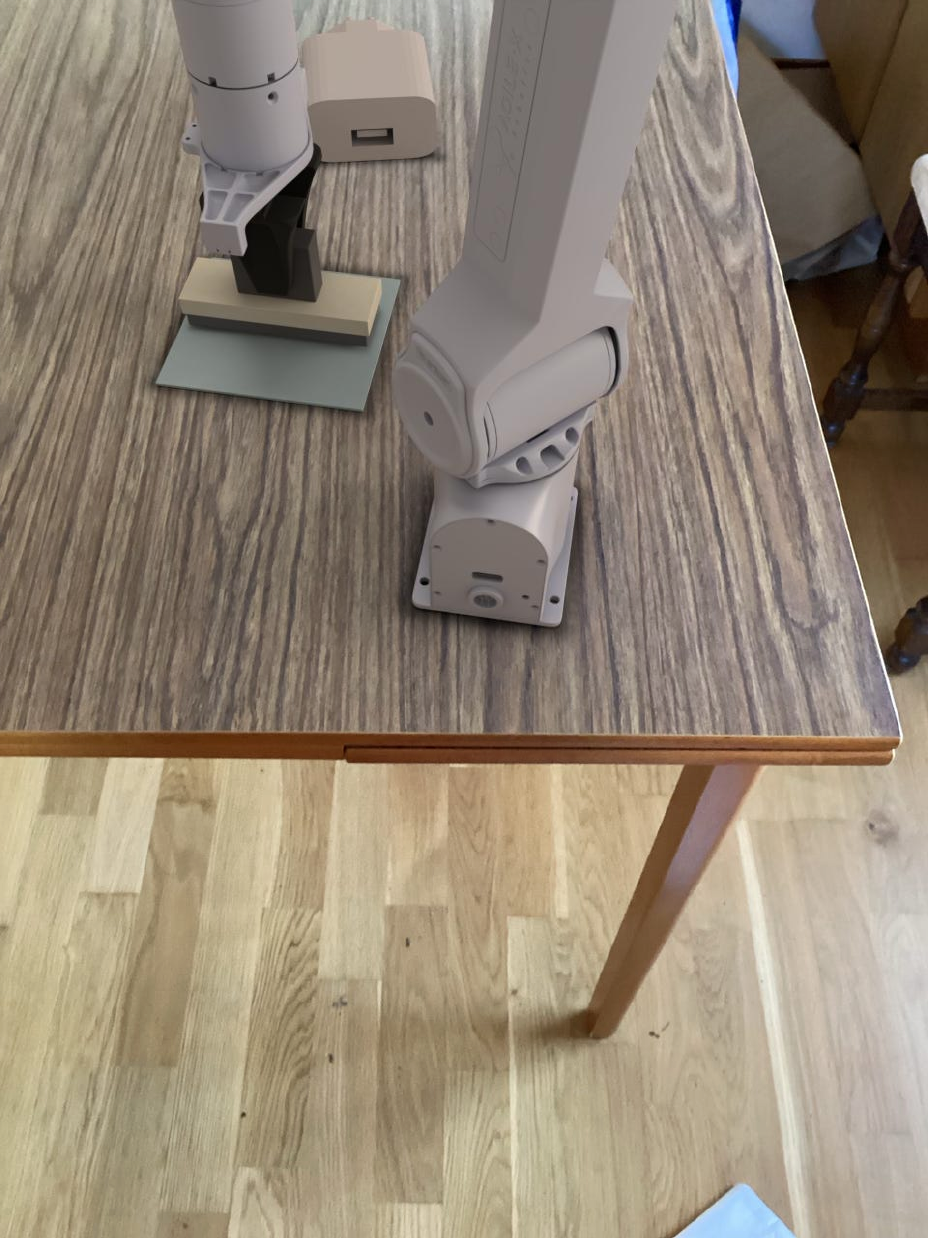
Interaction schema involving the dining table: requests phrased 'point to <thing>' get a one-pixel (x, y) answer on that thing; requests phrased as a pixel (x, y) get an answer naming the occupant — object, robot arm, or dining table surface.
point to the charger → (369, 92)
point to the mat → (278, 362)
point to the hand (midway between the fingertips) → (279, 277)
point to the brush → (284, 299)
